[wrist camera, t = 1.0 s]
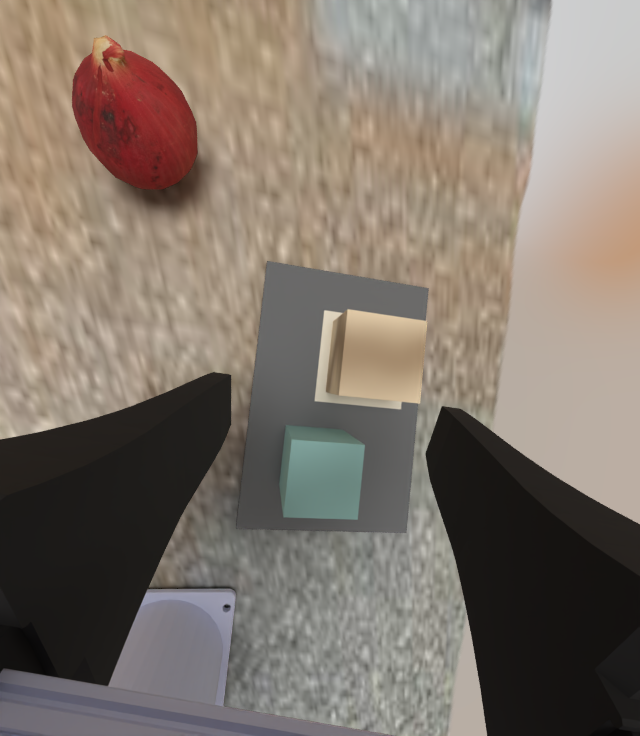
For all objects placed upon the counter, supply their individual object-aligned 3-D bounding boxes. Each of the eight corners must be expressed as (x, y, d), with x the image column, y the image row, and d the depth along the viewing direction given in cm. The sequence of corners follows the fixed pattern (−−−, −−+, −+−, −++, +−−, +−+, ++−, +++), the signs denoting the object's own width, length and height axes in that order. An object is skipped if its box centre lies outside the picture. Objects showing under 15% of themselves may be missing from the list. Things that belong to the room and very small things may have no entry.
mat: (403, 529, 23) (406, 533, 22) (236, 525, 21) (235, 528, 20) (425, 290, 24) (428, 288, 23) (267, 263, 22) (267, 260, 21)
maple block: (392, 398, 22) (420, 403, 19) (325, 392, 22) (338, 395, 18) (399, 330, 23) (427, 321, 19) (333, 321, 22) (347, 309, 18)
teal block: (336, 487, 22) (357, 519, 17) (279, 484, 21) (283, 517, 16) (342, 429, 22) (365, 445, 17) (285, 424, 21) (291, 439, 16)
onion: (188, 228, 21) (141, 139, 13) (100, 190, 20) (-8, 70, 12) (220, 153, 21) (194, 23, 14) (136, 113, 21) (56, -51, 13)
